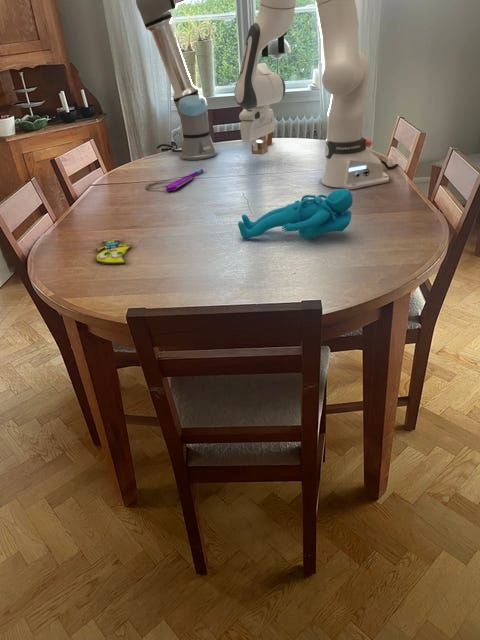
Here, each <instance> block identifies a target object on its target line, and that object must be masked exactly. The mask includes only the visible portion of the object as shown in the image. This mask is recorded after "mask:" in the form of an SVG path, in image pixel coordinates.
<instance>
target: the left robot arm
mask: <svg viewBox="0 0 480 640" xmlns="http://www.w3.org/2000/svg"><path fill="white" fill-rule="evenodd" d="M187 1H189V0H135V4H136V7H137V11H138V12H139V14H140V18H141V20H142V22H143V24H144V27H145V30H148V31H149V32H151V35H152V38H153V40H154V43H155V46H156V48H157V50H158V53H159V56H160V59H161V61H162V64H163V66H164V69H165V72H166V74H167V76H168V80H169V83H170V85H171V87H172V90H173V95H172V100H173V102H174V105H175V107H176V110H177V114H178V116H179V119H180V125H181V132H182V144H181V149H177V148H176V146H175V145H172V144H167V143H161V144H159V145H157V147H156V150H157V149H160V148H162V147H169V148H171V152H172V153H180V158H181V159H182V160H185V161H201V160H202V161H203V160H208V159H210V158H213V157H215V156H216V155H217V148H216V147H215V145H214V141H213V140H212V137H211V133H210V122H209V114H208V103H207V99H206V98H205V97H204V96H203V95H201V94H200V91H199V88H198V87H197V86H195V85H194V84H193V82H192V79H191V76H190V73H189V71H188V68H187V65H186V62H185V59H184V57H183V54H182V51H181V48H180V45H179V43H178V40H177V37H176V34H175V31H174V29H173V26H172V21H173V15H172V12H171V11H172V10H175V9H177V7H178V5H180V4H183V3H185V2H187ZM287 33H288V31H287V32H286V33H285V34H283V35H282V36H281V37H279V38H277V53H278V54H285V36H287ZM261 57H262V58H268V57H269V44H268V45H267V46H266V47H265V48H264V49H263V50H262V51H261Z"/></svg>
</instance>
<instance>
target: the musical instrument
mask: <svg viewBox="0 0 480 640" xmlns="http://www.w3.org/2000/svg"><path fill="white" fill-rule="evenodd" d="M204 172H205V170H204V168H201V169H198V170H196V171H195V170H194V172H191V173H190V174H188V175H184V176H179V177H174V178H169V179H164V180H159V181H156V182H153V183H150V184H146V185H145V188H146V189H152V190H153V189H154V190H155V189H157V190H158V189H162V188H166V191H167V192H171V191H177V190H178V189H179V187H182V186H183V185H184V184H186V183H188V182H189V181H191V180H193V179H195V176H197V175H199V174H202V173H204ZM175 179H176V180H175ZM171 180H175V181H173V182H170V183H168V184H166V185H164V186H160V187H151V186H152V185H154V184H158V183H162V182H165V181H166V182H167V181H171Z"/></svg>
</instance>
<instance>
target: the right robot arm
mask: <svg viewBox="0 0 480 640" xmlns="http://www.w3.org/2000/svg"><path fill="white" fill-rule="evenodd" d="M314 2H315V9H316V14H317V20H318V26H319V32H320V39H321V63H322V74H321V82H322V86H323V88H324V89H325V91H326V92H327V93H329V94H331V97H330V102H329V108H328V111H327V123H326V124H327V126H326V127H327V129H326V130H327V133H326V139H325V145H324V154H325V155H324V156H325V164H324V168H323V169H324V170H323V175H322V178H321V183H322V185H324V186H327V187H330V188H337V189H348V190H356V189H361V188H366V187H371V186H376V185H380V184H385V183H389V182H390V176H389V175H388V174H387V173H386V172H385V171H384V168H383V165H384V167H385V168H386V169H387V170H393V169H395V168H397V167H399V164H398V163H396V164H394V165H391V166H390V165H388V164H387V162H386V161H384V160H382V158H380V157H377V156H376V155H375V154H373V152H371V151H370V150H368V148H370V147H371V146H373V141H372V140H371V139H368V138H367V139H366V138H364V137H362V134H363V122H364V121H363V120H364V119H363V118H364V108H365V102H366V97H367V90H368V82H369V74H370V61H369V59H368V57H367V56H366V55H365V54H364V53H363V52H362V51H360V50H359V49H360V48H359V26H360V23H359V16H358V8H357V3H356V0H314ZM295 9H296V0H260V2H259V10H258V13H257V15H256V18H255V20H254V22H253V24H252V25H250V26H249V28H248V30H247V31H248V32H247V34H246V39H245V43H244V49H243V53H242V59H241V64H240V69H239V73H238V78H237V81H236V82H235V83H236V84H235V87H234V100H235V102H236V103H237V104H238V106H240V107H241V108H242V109H243V110H241V112H240V113H239V115H238V118H239V120H240V123H239V129H240V130H239V131H240V138H241V140H242V143H243V142H244V143H250V144H251V143H252V145H253V150H254V151H257V150H259V145H257V139H258V138H260V137H262V140H267V138H268V134H269V133H271V132H273V133H274V132H275V131H276V118H275V113H274V111H273V108H272V107H271V106H270V105H273V104H277V103H280V102H282V100H283V99H284V97H285V94H286V82H285V80H284V78H283V77H282V76H281V75H280V74H278V73H275V72H273V71H272V70H270V68H269V67H268V64H267V63H266V62H264V61H263V62H262V61H261V62H259V59H260V55H261V54H262V50H263V49H264V48H265V47H266V46H267V45H268V46H269V45H270V43H272V42H273V41H275V40H278V38H279V37H281V36H282V35H283V34H285V33H286V32H287V33H288V31H289V29H290V28H291V26H292V24H293V21H294V16H295Z"/></svg>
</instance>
